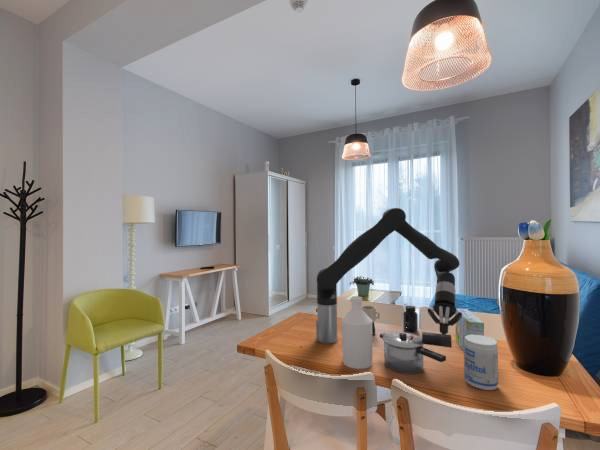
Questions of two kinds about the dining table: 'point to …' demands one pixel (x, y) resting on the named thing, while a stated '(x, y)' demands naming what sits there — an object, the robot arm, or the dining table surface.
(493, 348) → the supplement tub
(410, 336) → the lid
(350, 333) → the bottle
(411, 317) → the supplement bottle
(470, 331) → the snack box
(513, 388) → the dining table surface
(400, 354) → the pot
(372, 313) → the character mug
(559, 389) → the dining table surface
